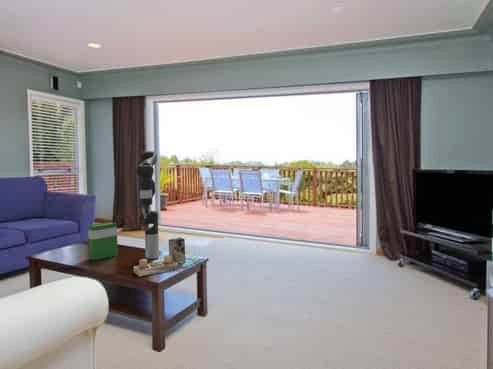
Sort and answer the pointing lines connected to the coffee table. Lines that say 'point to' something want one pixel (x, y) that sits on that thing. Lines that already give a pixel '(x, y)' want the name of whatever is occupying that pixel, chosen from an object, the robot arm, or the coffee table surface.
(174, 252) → the coffee box
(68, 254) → the coffee table surface
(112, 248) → the green banded box
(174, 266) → the button board
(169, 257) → the button ochre
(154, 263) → the button sage
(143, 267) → the button terracotta
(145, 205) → the robot arm
